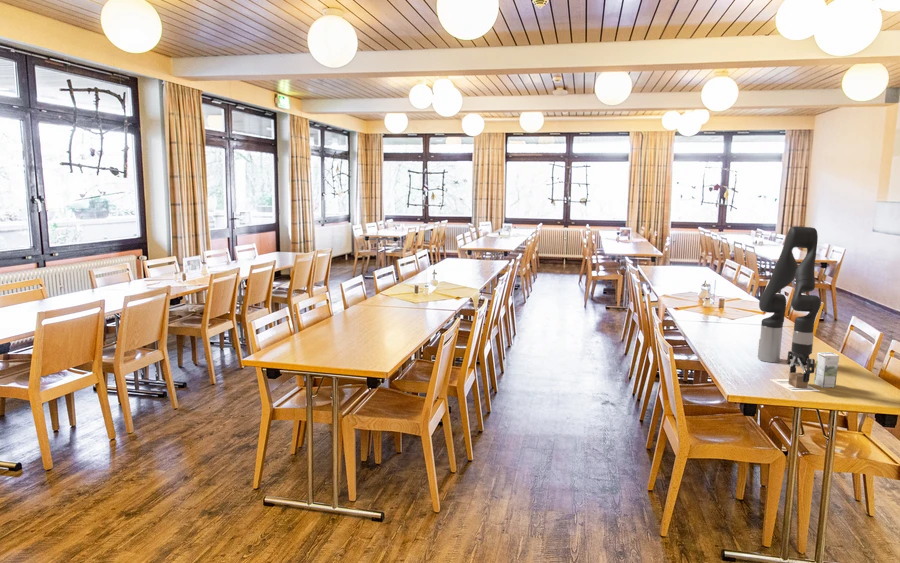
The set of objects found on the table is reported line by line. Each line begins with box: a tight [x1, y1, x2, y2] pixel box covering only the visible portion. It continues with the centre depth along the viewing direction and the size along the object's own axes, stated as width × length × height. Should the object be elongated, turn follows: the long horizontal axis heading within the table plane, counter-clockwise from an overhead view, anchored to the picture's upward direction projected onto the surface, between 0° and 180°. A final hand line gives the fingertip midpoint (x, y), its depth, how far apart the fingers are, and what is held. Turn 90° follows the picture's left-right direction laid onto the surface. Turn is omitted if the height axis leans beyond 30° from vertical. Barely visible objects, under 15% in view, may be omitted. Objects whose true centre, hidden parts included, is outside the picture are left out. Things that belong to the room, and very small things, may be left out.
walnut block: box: [788, 372, 809, 388], centre depth 249 cm, size 5×5×5 cm
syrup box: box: [813, 351, 840, 389], centre depth 249 cm, size 6×6×14 cm
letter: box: [769, 378, 820, 393], centre depth 250 cm, size 16×12×1 cm
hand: (799, 378), depth 248 cm, fingers open, 8 cm apart
